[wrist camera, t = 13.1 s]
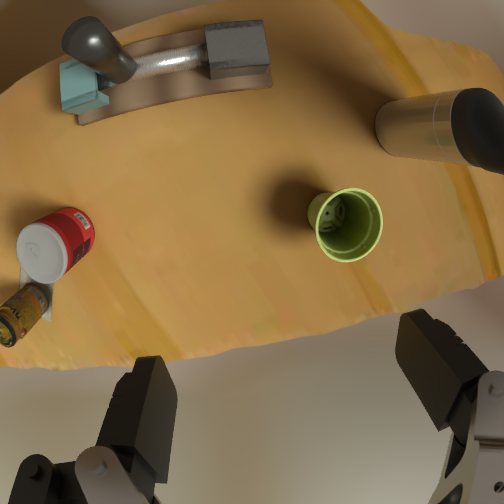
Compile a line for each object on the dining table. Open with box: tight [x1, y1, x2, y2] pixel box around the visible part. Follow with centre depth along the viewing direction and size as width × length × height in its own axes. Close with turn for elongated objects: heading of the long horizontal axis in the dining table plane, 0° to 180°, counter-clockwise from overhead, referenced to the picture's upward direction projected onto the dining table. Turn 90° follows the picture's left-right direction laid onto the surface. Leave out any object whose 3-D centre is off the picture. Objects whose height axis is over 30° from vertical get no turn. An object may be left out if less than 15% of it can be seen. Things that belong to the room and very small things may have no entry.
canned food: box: [16, 208, 95, 284], centre depth 35 cm, size 8×8×11 cm
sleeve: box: [204, 20, 270, 80], centre depth 31 cm, size 7×6×5 cm
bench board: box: [78, 29, 273, 126], centre depth 34 cm, size 27×10×2 cm, turn 98°
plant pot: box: [307, 188, 383, 262], centre depth 40 cm, size 9×9×9 cm
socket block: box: [60, 58, 109, 114], centre depth 30 cm, size 5×7×5 cm
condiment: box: [0, 267, 53, 347], centre depth 36 cm, size 7×8×12 cm
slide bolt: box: [62, 16, 209, 91], centre depth 25 cm, size 20×4×16 cm, turn 98°
